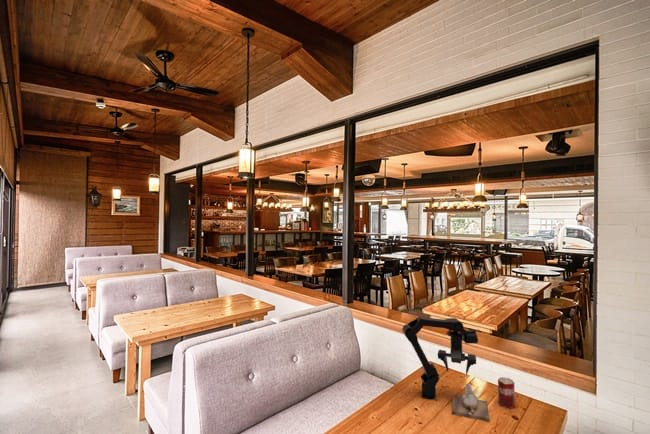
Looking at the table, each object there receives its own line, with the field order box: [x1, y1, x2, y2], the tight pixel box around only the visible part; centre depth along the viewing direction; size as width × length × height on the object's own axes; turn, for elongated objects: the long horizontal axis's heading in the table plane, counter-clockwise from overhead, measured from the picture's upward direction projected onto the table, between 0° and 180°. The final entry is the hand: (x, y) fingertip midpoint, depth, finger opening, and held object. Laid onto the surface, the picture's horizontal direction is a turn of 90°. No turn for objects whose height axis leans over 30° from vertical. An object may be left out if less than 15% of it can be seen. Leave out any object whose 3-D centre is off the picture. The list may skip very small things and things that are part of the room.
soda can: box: [497, 376, 516, 409], centre depth 160 cm, size 7×7×12 cm
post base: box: [451, 394, 490, 423], centre depth 157 cm, size 16×15×2 cm
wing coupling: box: [461, 383, 479, 412], centre depth 156 cm, size 12×7×8 cm, turn 165°
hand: (456, 372), depth 169 cm, fingers open, 9 cm apart
